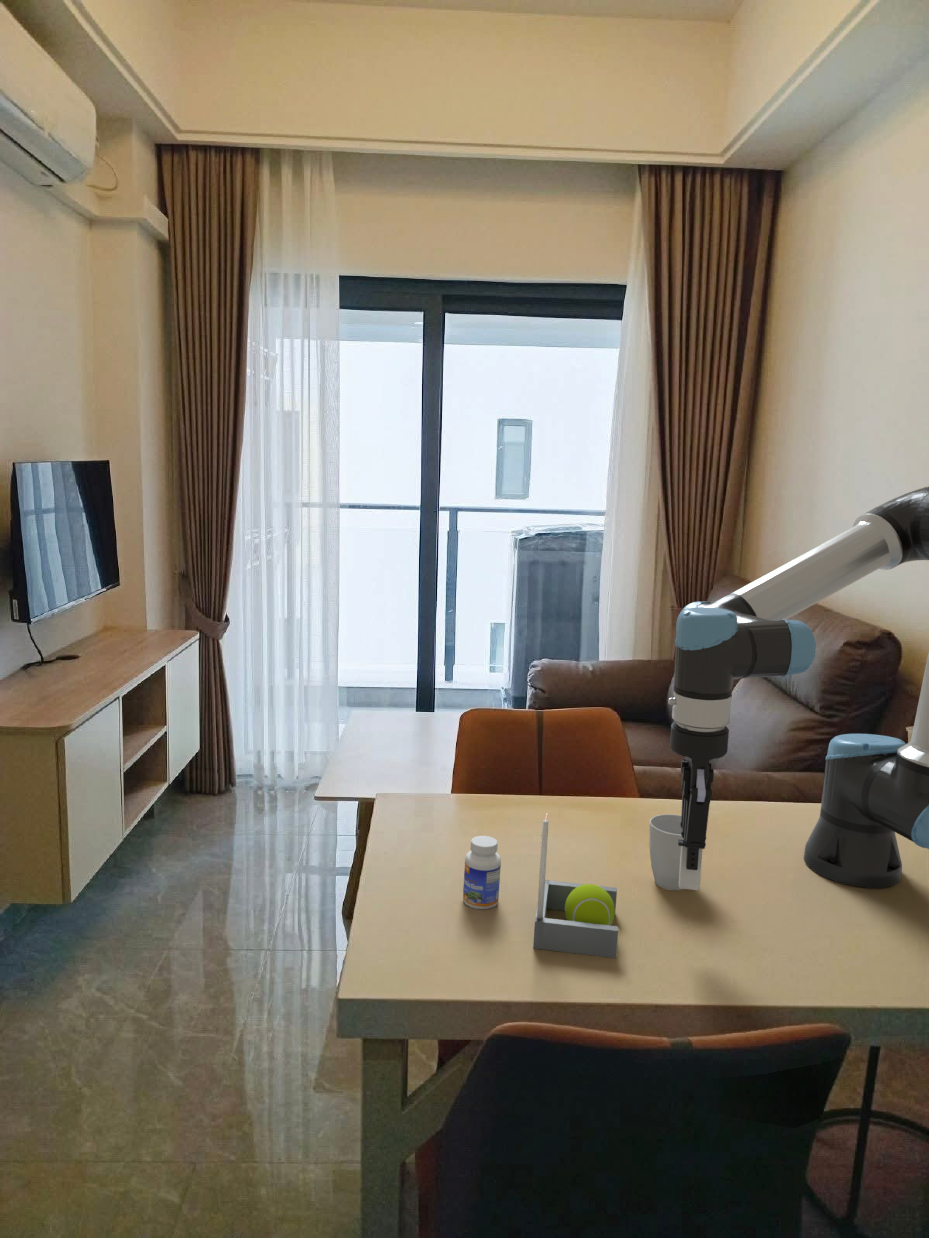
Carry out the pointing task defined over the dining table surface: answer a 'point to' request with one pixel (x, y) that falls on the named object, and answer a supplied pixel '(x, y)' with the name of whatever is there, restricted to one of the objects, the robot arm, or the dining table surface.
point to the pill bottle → (482, 873)
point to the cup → (665, 850)
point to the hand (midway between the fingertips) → (689, 886)
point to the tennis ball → (590, 905)
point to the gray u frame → (562, 931)
